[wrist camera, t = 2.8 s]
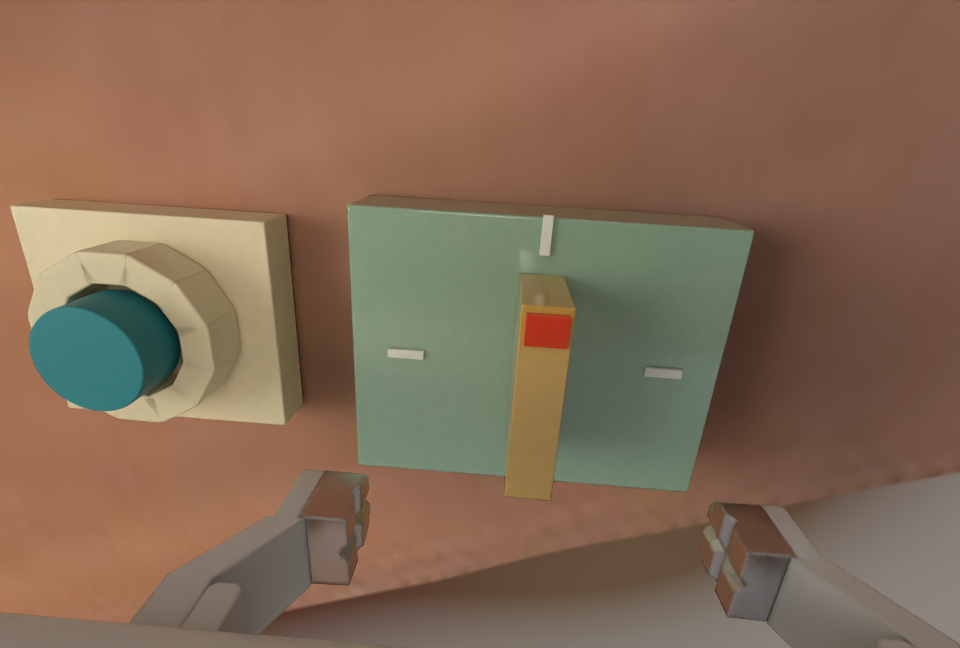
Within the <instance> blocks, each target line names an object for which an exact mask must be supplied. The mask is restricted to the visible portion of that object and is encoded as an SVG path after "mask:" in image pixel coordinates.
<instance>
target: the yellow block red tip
mask: <svg viewBox="0 0 960 648" xmlns="http://www.w3.org/2000/svg"><path fill="white" fill-rule="evenodd" d="M575 316H576V308H575V305H574V302H573V299H572V297H571V294H570V291H569V288H568V285H567V283H566V280H565V277H564V276H551V275H537V274H520V278H519V289H518V301H517V312H516V324H515V335H514V347H513V359H512V370H511V382H510V393H509V405H508V416H507V428H506V444H505V490H504V495H505V497H512V498H524V499H536V500H547V501H550V500H551V496H552V488H553V481H554V473H555V466H556V458H557V451H558V443H559V436H560V429H561V421H562V414H563V406H564V399H565V391H566V384H567V376H568V369H569V361H570V354H571V346H572V339H573V331H574V324H575Z"/></svg>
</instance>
